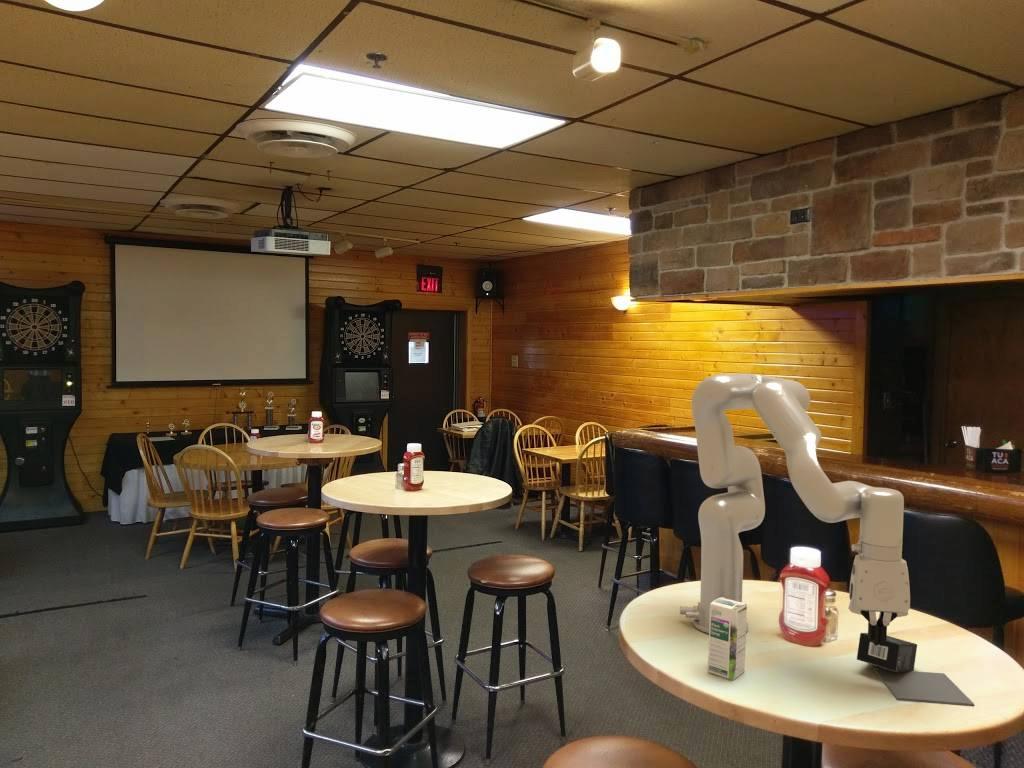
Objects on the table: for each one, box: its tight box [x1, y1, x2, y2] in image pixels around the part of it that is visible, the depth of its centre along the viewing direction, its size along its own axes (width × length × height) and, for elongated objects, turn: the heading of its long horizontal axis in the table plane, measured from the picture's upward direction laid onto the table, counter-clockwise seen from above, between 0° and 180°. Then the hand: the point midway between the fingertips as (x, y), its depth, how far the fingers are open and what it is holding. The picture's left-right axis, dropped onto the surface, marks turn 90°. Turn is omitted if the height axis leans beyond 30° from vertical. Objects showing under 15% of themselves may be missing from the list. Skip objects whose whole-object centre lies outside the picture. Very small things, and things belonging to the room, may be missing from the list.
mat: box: [873, 667, 975, 707], centre depth 145 cm, size 14×13×1 cm
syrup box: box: [707, 597, 748, 681], centre depth 150 cm, size 6×6×14 cm
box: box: [856, 632, 918, 672], centre depth 152 cm, size 8×6×11 cm
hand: (876, 642), depth 146 cm, fingers closed
